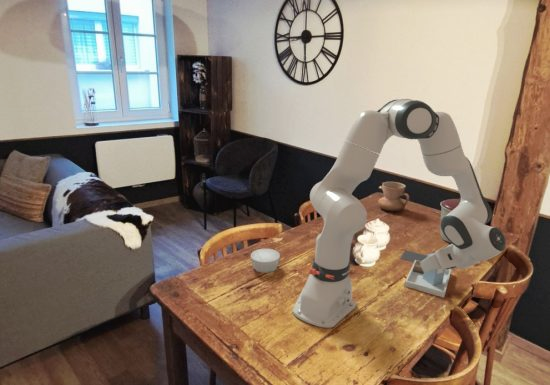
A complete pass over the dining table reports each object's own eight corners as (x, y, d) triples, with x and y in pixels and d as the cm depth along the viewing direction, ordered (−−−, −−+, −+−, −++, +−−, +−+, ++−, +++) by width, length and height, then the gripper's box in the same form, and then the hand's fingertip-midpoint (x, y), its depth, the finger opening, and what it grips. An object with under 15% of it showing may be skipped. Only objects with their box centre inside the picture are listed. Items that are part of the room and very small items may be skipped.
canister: (426, 233, 177) (433, 191, 170) (457, 230, 182) (465, 189, 175) (453, 251, 161) (462, 205, 154) (487, 246, 165) (497, 202, 159)
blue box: (442, 283, 135) (447, 259, 132) (433, 285, 134) (437, 261, 130) (432, 276, 140) (436, 252, 136) (422, 278, 138) (426, 254, 135)
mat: (423, 266, 148) (423, 264, 148) (399, 260, 152) (400, 258, 152) (426, 256, 155) (427, 255, 155) (404, 251, 159) (405, 250, 159)
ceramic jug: (370, 207, 208) (373, 183, 203) (384, 201, 217) (387, 178, 213) (399, 217, 196) (403, 191, 191) (412, 210, 205) (416, 186, 200)
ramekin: (244, 266, 144) (244, 254, 142) (264, 257, 152) (265, 245, 150) (265, 278, 137) (265, 265, 135) (285, 267, 145) (285, 255, 143)
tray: (443, 299, 127) (445, 292, 126) (404, 287, 133) (405, 281, 132) (450, 275, 142) (451, 269, 141) (414, 265, 148) (415, 259, 147)
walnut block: (426, 275, 140) (427, 269, 139) (412, 271, 143) (413, 265, 142) (428, 269, 144) (429, 263, 144) (415, 265, 147) (416, 260, 146)
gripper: (478, 241, 129) (451, 253, 140) (433, 250, 121) (408, 263, 133) (487, 258, 126) (458, 269, 138) (441, 269, 119) (415, 280, 130)
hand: (433, 266), depth 135 cm, fingers open, 8 cm apart
